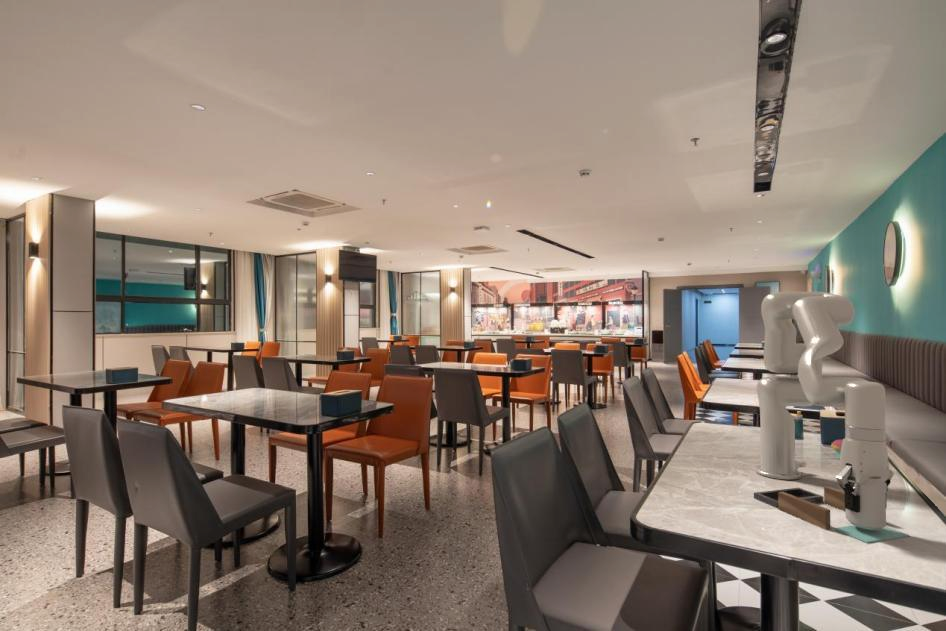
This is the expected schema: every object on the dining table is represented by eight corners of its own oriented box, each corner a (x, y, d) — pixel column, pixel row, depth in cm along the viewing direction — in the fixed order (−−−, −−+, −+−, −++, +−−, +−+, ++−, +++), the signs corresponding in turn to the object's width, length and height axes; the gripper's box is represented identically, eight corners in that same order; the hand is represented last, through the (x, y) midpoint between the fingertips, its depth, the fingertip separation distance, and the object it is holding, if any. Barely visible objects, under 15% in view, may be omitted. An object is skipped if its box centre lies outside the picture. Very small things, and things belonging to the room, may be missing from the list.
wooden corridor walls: (828, 503, 134) (828, 486, 134) (879, 521, 122) (878, 503, 122) (778, 509, 130) (778, 492, 130) (825, 529, 117) (825, 510, 117)
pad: (875, 523, 121) (875, 522, 121) (909, 536, 113) (909, 535, 113) (834, 529, 117) (834, 528, 117) (866, 543, 110) (866, 541, 110)
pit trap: (798, 492, 142) (798, 487, 142) (823, 501, 135) (823, 496, 135) (753, 498, 138) (753, 492, 138) (776, 507, 131) (776, 502, 131)
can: (888, 534, 111) (888, 481, 111) (847, 527, 115) (847, 475, 115) (883, 522, 118) (882, 472, 118) (844, 516, 122) (843, 467, 122)
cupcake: (859, 458, 177) (859, 425, 178) (862, 464, 170) (862, 429, 170) (830, 455, 182) (830, 422, 182) (832, 460, 175) (831, 426, 175)
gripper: (875, 428, 122) (876, 499, 122) (821, 432, 118) (821, 506, 118) (909, 435, 115) (910, 510, 115) (852, 440, 111) (853, 518, 111)
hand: (865, 508), depth 116 cm, fingers closed on can, 7 cm apart
